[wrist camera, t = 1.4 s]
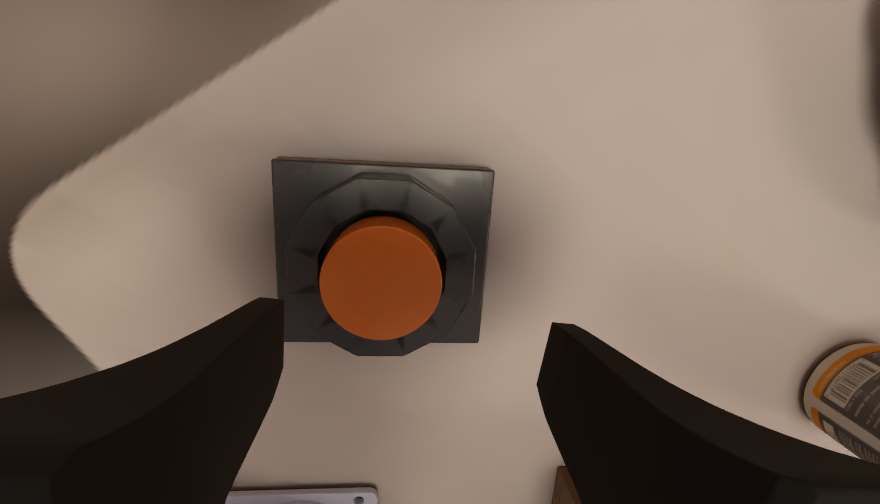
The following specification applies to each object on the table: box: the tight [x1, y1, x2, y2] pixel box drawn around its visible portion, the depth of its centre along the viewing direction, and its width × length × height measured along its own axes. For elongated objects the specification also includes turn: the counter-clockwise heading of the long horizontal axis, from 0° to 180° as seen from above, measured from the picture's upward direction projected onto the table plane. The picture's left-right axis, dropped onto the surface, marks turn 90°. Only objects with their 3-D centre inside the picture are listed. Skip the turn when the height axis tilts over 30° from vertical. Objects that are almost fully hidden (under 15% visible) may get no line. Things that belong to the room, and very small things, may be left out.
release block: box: [271, 157, 495, 356], centre depth 19 cm, size 9×8×3 cm
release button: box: [319, 216, 442, 340], centre depth 17 cm, size 4×4×2 cm
